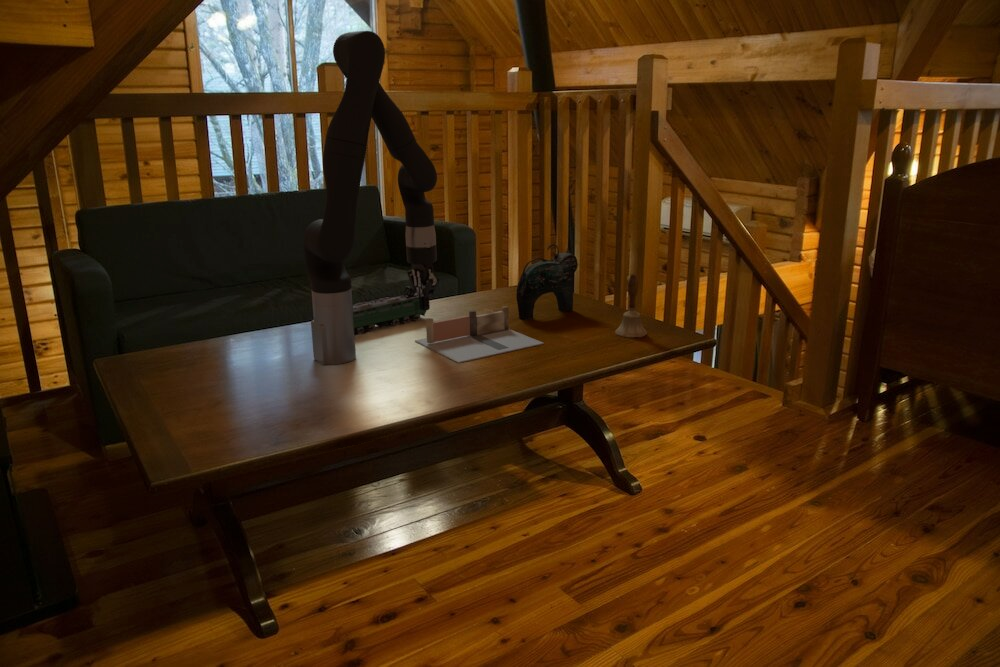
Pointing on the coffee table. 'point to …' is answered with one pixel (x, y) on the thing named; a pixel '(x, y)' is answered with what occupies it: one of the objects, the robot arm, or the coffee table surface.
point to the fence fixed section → (489, 321)
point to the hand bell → (631, 314)
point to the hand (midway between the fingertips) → (424, 309)
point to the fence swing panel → (447, 328)
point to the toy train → (386, 311)
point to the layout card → (480, 345)
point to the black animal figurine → (547, 282)
